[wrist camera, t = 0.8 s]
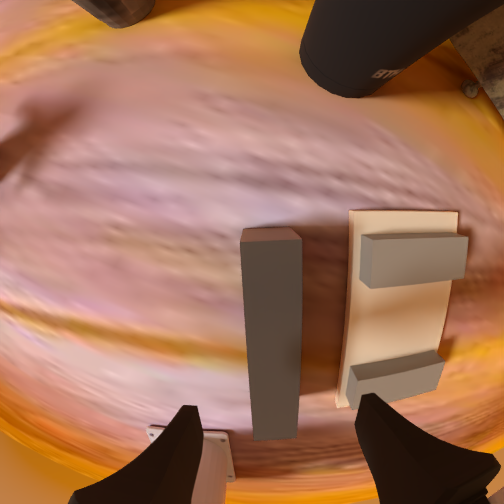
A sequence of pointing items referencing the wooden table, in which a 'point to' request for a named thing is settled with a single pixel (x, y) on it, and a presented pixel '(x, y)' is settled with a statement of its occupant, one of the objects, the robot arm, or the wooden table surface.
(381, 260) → the stand
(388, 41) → the wine bottle
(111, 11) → the beverage cup
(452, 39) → the tabletop clock
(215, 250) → the wooden table surface
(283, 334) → the handle bar
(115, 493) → the robot arm
